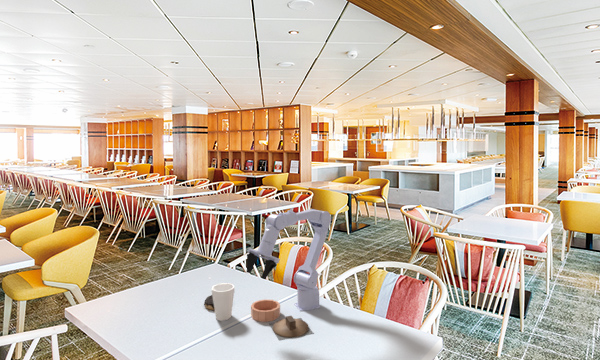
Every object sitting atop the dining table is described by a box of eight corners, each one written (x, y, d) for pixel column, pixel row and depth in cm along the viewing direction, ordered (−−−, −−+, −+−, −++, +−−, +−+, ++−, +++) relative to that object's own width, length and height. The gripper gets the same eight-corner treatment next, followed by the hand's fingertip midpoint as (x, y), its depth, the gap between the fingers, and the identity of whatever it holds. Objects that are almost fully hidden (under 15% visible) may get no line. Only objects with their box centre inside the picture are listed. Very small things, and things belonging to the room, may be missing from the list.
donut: (232, 300, 175) (232, 292, 175) (224, 312, 163) (224, 303, 163) (209, 300, 176) (209, 291, 176) (200, 311, 164) (200, 302, 164)
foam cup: (229, 323, 152) (229, 292, 151) (208, 321, 154) (207, 290, 153) (238, 313, 161) (237, 284, 160) (218, 311, 163) (217, 282, 162)
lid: (300, 317, 156) (300, 308, 156) (313, 333, 143) (313, 323, 143) (268, 323, 151) (268, 314, 151) (279, 340, 138) (278, 330, 138)
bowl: (275, 307, 167) (275, 297, 166) (283, 319, 156) (283, 308, 155) (248, 312, 163) (248, 302, 162) (255, 324, 151) (255, 313, 151)
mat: (300, 318, 156) (300, 317, 156) (313, 334, 143) (313, 333, 143) (268, 324, 151) (268, 323, 151) (279, 341, 138) (279, 340, 138)
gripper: (248, 235, 151) (236, 268, 148) (277, 245, 143) (265, 279, 140) (257, 240, 157) (245, 271, 153) (286, 249, 149) (274, 282, 146)
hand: (255, 275), depth 147 cm, fingers open, 7 cm apart
